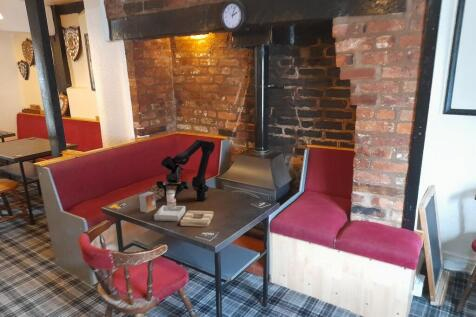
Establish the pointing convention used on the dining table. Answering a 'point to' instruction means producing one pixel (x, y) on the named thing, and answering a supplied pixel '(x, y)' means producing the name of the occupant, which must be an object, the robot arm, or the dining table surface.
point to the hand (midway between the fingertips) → (170, 198)
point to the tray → (169, 214)
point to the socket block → (204, 222)
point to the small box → (147, 202)
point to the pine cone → (157, 192)
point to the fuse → (171, 199)
